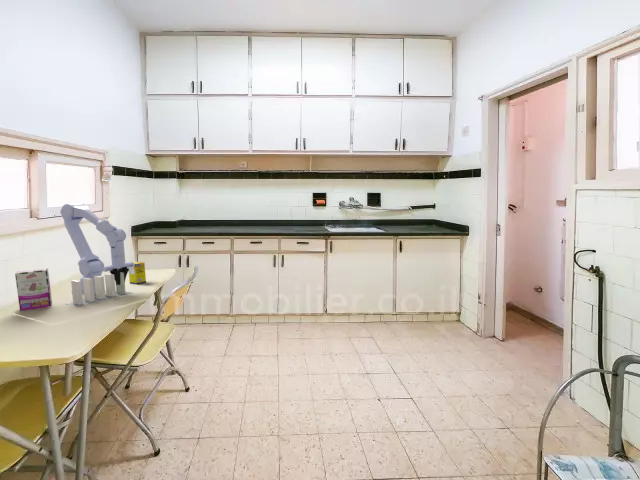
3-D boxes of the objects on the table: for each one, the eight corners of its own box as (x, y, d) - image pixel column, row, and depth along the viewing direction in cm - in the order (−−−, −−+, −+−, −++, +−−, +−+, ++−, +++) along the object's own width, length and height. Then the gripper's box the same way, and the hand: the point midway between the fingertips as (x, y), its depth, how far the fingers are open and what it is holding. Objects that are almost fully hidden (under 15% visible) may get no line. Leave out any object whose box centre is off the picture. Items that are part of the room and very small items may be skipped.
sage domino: (122, 294, 195) (120, 273, 194) (116, 292, 198) (114, 272, 197) (125, 293, 197) (123, 272, 195) (119, 292, 199) (117, 271, 198)
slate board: (77, 308, 175) (77, 306, 175) (65, 305, 181) (65, 303, 180) (133, 294, 197) (133, 292, 197) (121, 291, 202) (120, 290, 202)
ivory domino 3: (102, 299, 187) (100, 277, 186) (95, 297, 189) (93, 276, 188) (105, 298, 188) (103, 276, 187) (99, 297, 191) (97, 275, 190)
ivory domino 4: (112, 296, 191) (110, 275, 190) (106, 295, 194) (104, 274, 192) (116, 295, 192) (114, 274, 191) (109, 294, 195) (107, 273, 194)
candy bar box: (52, 305, 181) (48, 268, 179) (51, 308, 177) (47, 269, 175) (21, 309, 176) (16, 271, 174) (19, 312, 172) (14, 273, 170)
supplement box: (146, 282, 223) (144, 262, 221) (136, 284, 218) (134, 264, 216) (139, 281, 226) (137, 261, 224) (129, 283, 221) (127, 263, 219)
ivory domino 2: (91, 301, 183) (89, 279, 181) (84, 300, 185) (82, 278, 184) (94, 301, 184) (92, 278, 183) (88, 299, 187) (86, 277, 185)
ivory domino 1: (79, 304, 178) (77, 281, 177) (73, 303, 181) (71, 280, 180) (83, 303, 180) (81, 281, 178) (77, 302, 182) (74, 280, 181)
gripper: (108, 258, 187) (110, 288, 188) (137, 253, 199) (139, 281, 201) (99, 257, 190) (101, 286, 192) (128, 252, 203) (130, 280, 204)
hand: (120, 284), depth 197 cm, fingers closed
